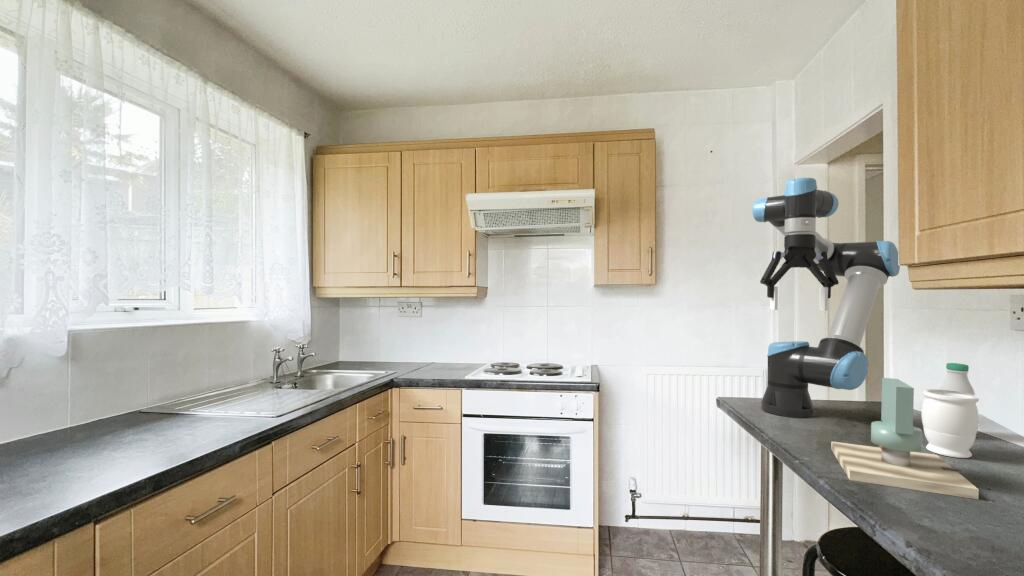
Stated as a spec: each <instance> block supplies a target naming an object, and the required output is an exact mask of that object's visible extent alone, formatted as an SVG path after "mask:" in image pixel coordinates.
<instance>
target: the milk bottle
mask: <svg viewBox="0 0 1024 576" xmlns="http://www.w3.org/2000/svg"><path fill="white" fill-rule="evenodd" d="M945 366H946V369H945V370H946V372H947V374H946V377H945V379H944V380H943V382H942V383H941V384H940V387H939V389H938V390H949V391H957V392H962V393H968V394H972V395H975V396H976V393H975V390H974V388H973V386H972V385H971V383H970V380H969V377H968V373H969V368H970V367H969V365H968V364H965V363H957V362H955V363H954V362H948V363H946V365H945Z"/></svg>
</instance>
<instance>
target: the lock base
mask: <svg viewBox="0 0 1024 576" xmlns="http://www.w3.org/2000/svg"><path fill="white" fill-rule="evenodd" d="M830 443H831V444H830V446H831V447H830V448H831V449H830V450H831V451H832V453H833V454H834V457H835V458H836V460H837V461H838V463H839V465H840V466H841V468H842V470H843V469H844V470H843V471H844V473H845V474H847V475H846V476H847V478H848V479H849V481H854V482H861V483H867V484H874V485H881V486H888V487H894V488H899V489H900V488H901V489H908V490H915V491H918V492H919V491H921V492H927V493H934V494H941V495H947V496H953V497H961V498H967V499H973V500H979V496H980V495H979V488H978V487H976V485H974V484H972V482H970V481H969V480H968V479H967V478H966V477H964V476H963V475H962V474H961V472H962V470H961V469H960V468H954V467H952V466H951V465H950V464H949V463H947V462H946V461H945V460H944V459H942V458H941V457H940V456H939V454H936V453H934V454H933V453H926V452H920V451H918V452H908V451H899V450H893V449H889V448H885V447H882V446H879V445H878V446H871V445H864V444H863V445H861V444H856V443H847V442H838V441H831V442H830Z"/></svg>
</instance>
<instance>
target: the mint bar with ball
mask: <svg viewBox="0 0 1024 576" xmlns="http://www.w3.org/2000/svg"><path fill="white" fill-rule="evenodd" d="M914 395H915V388H914V387H912V386H911V385H910V384H907V383H906V382H904V381H903V380H900V379H899V378H891V377H890V378H889V377H881V412H880V413H881V418H880V420H875V421H872V422H870V423H871V424H870V441H871V442H872V443H873V444H874V445H876V446H878V447H879V446H882V447H885V448H889V449H893V450H899V451H908V452H922V451H923V433H924V430H922V429H921V428H920V427H917V426H914V404H915V403H914V400H915V399H914Z"/></svg>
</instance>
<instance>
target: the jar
mask: <svg viewBox="0 0 1024 576" xmlns="http://www.w3.org/2000/svg"><path fill="white" fill-rule="evenodd" d="M921 394H922V396H924V398H923V401H922V405H921V410H920V411H921V412H920V414H921V422H922V427H923V433H924V436H925V438H926V440H927V442H928V443H927V445H926V447H925V448H926V449H927V451H930V452H931V453H934V454H936V455H941V456H945V457H951V458H958V459H967V458H971V457H972V456H973V454H972V452H971V451H970V449H971V448H973V447H972V446H974V444H975V442H976V437H977V433H978V431H979V430H978V429H979V422H980V421H979V420H980V419H979V410H978V407H977V403H978V402H979V401H980V397H979V396H977V395H976V394H975V395H972V394H968V393H962V392H957V391H949V390H939V389H933V388H932V389H931V388H929V389H922V392H921Z"/></svg>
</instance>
